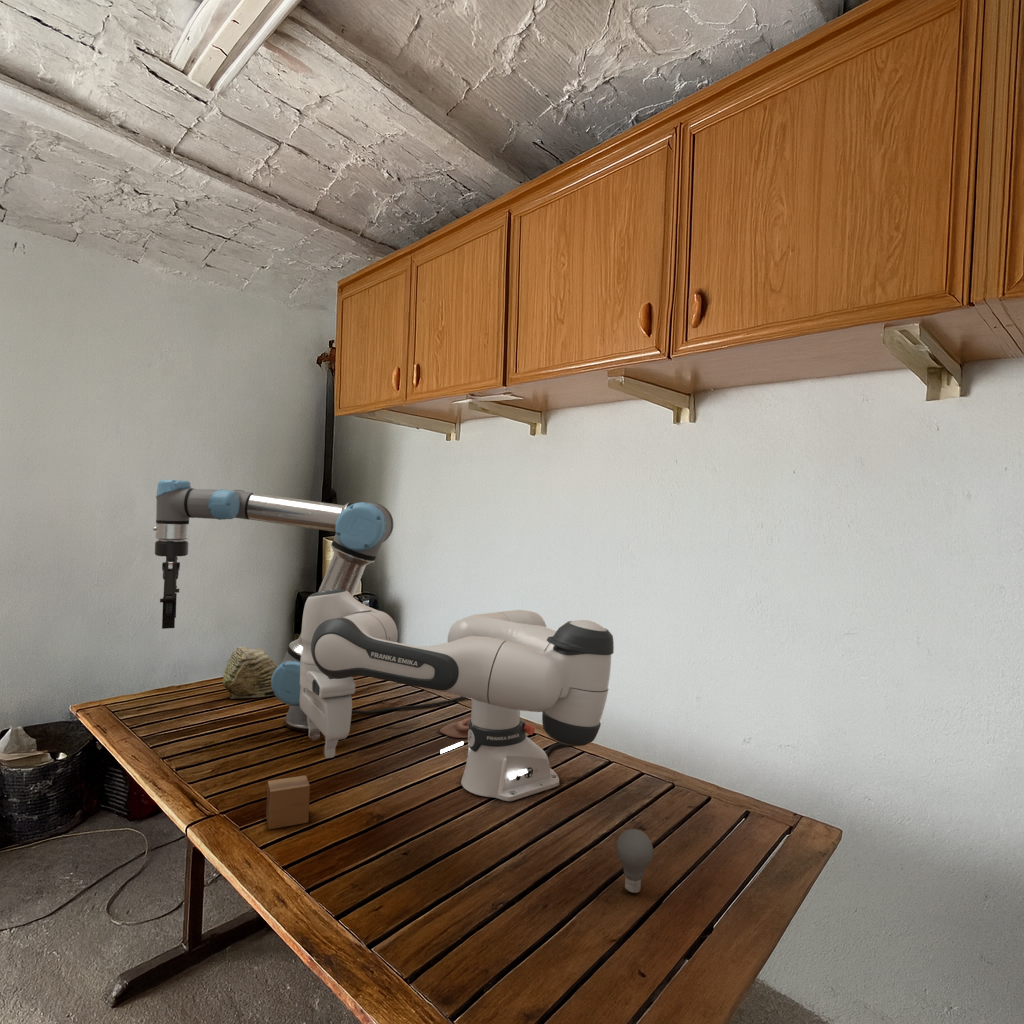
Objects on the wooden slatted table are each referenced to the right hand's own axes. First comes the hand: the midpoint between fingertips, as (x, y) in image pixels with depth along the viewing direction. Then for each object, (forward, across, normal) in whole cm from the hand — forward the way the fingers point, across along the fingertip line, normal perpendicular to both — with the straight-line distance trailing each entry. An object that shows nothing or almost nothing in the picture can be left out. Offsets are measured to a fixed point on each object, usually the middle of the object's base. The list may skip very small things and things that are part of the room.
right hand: (321, 747), depth 120 cm
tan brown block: (+16, -7, -4) cm, 18 cm away
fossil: (+16, -89, +6) cm, 91 cm away
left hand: (-13, -64, -20) cm, 69 cm away
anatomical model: (+16, -32, +50) cm, 62 cm away
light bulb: (+16, +44, +40) cm, 61 cm away
